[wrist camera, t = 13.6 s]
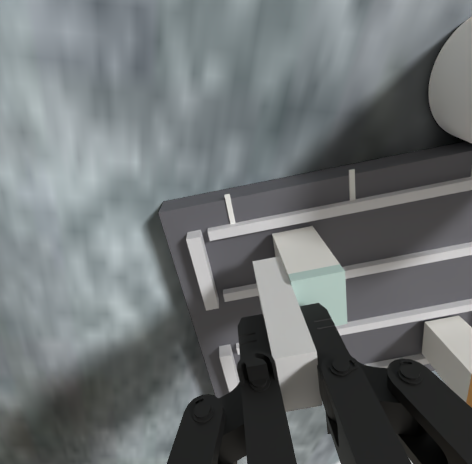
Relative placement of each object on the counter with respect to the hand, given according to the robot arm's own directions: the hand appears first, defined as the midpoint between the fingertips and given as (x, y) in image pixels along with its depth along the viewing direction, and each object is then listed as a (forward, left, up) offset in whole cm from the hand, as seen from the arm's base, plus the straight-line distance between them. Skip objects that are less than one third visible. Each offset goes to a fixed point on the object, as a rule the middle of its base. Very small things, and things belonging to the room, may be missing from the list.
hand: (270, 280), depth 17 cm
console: (+6, -4, -5) cm, 9 cm away
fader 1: (+2, 0, -2) cm, 3 cm away
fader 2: (+11, -9, -2) cm, 15 cm away
